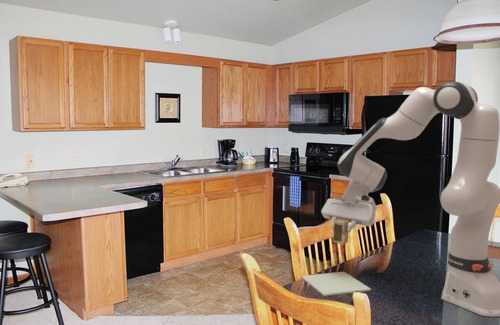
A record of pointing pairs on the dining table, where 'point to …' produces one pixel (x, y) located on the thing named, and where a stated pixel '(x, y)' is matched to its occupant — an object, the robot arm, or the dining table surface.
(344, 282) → the sage mat
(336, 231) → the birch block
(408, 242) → the dining table surface
